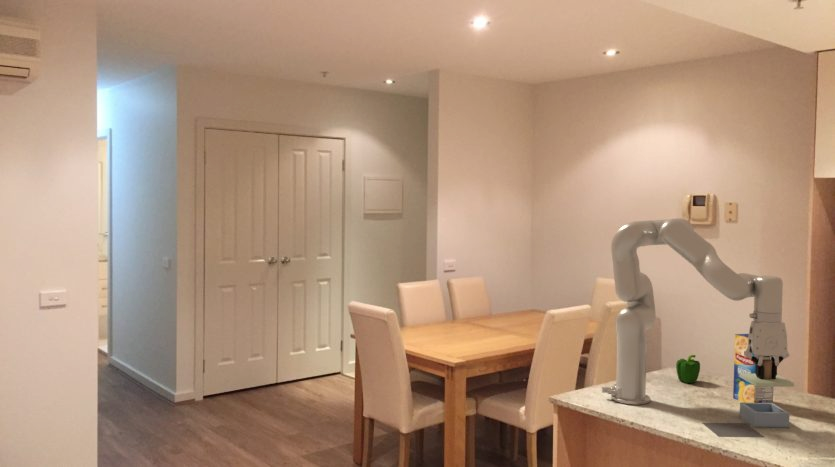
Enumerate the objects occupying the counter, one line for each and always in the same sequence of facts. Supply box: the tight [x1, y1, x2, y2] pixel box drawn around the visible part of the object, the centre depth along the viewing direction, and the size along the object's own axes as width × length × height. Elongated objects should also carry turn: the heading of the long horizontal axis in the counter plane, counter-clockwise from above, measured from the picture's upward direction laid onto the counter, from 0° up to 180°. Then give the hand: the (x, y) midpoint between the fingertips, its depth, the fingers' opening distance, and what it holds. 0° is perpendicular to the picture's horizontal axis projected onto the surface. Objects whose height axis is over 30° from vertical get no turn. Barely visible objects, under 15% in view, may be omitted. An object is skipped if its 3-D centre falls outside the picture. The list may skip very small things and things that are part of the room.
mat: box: [702, 422, 765, 438], centre depth 204 cm, size 13×12×1 cm
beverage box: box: [732, 333, 774, 404], centre depth 232 cm, size 7×11×22 cm, turn 11°
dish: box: [739, 402, 790, 429], centre depth 211 cm, size 10×10×5 cm
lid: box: [739, 359, 795, 388], centre depth 210 cm, size 11×11×7 cm
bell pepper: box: [675, 354, 701, 384], centre depth 258 cm, size 8×8×10 cm
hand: (765, 377), depth 210 cm, fingers closed on lid, 3 cm apart
